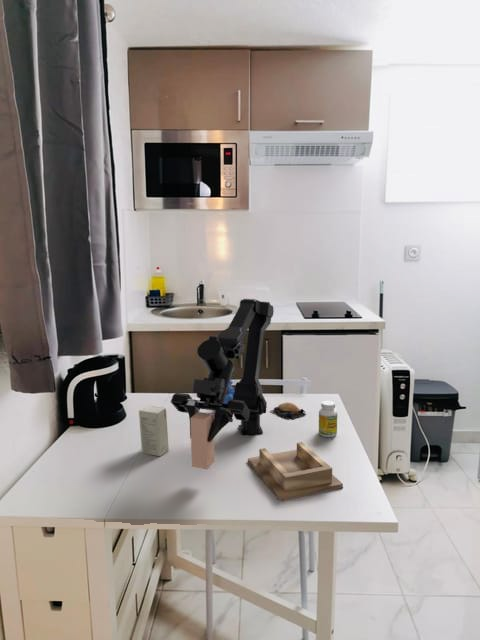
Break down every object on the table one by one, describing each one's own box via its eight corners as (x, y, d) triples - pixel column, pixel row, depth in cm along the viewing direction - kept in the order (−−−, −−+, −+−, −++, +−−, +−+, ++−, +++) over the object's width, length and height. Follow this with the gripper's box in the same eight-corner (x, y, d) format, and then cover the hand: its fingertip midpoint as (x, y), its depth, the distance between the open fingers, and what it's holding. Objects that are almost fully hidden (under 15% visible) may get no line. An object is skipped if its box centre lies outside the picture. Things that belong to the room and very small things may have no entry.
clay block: (199, 458, 120) (198, 411, 118) (214, 461, 118) (213, 414, 116) (191, 466, 116) (190, 417, 114) (207, 469, 115) (206, 420, 112)
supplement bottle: (328, 428, 149) (328, 398, 148) (340, 434, 145) (341, 403, 143) (314, 432, 147) (315, 401, 145) (327, 439, 142) (328, 407, 140)
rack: (247, 461, 129) (247, 445, 128) (303, 451, 134) (303, 436, 133) (280, 500, 110) (280, 482, 109) (342, 487, 116) (343, 469, 115)
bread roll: (267, 413, 164) (267, 403, 163) (285, 407, 169) (285, 397, 168) (291, 422, 156) (291, 411, 155) (309, 415, 161) (309, 405, 160)
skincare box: (169, 450, 136) (167, 408, 133) (160, 457, 132) (158, 413, 130) (149, 446, 138) (147, 404, 136) (140, 452, 134) (138, 410, 132)
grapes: (242, 418, 158) (242, 382, 156) (221, 419, 158) (220, 382, 155) (239, 405, 170) (239, 371, 167) (219, 406, 169) (219, 372, 167)
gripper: (172, 360, 120) (151, 420, 112) (245, 367, 113) (227, 432, 105) (188, 382, 128) (169, 439, 120) (256, 390, 122) (241, 451, 114)
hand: (200, 440), depth 115 cm, fingers closed on clay block, 4 cm apart
